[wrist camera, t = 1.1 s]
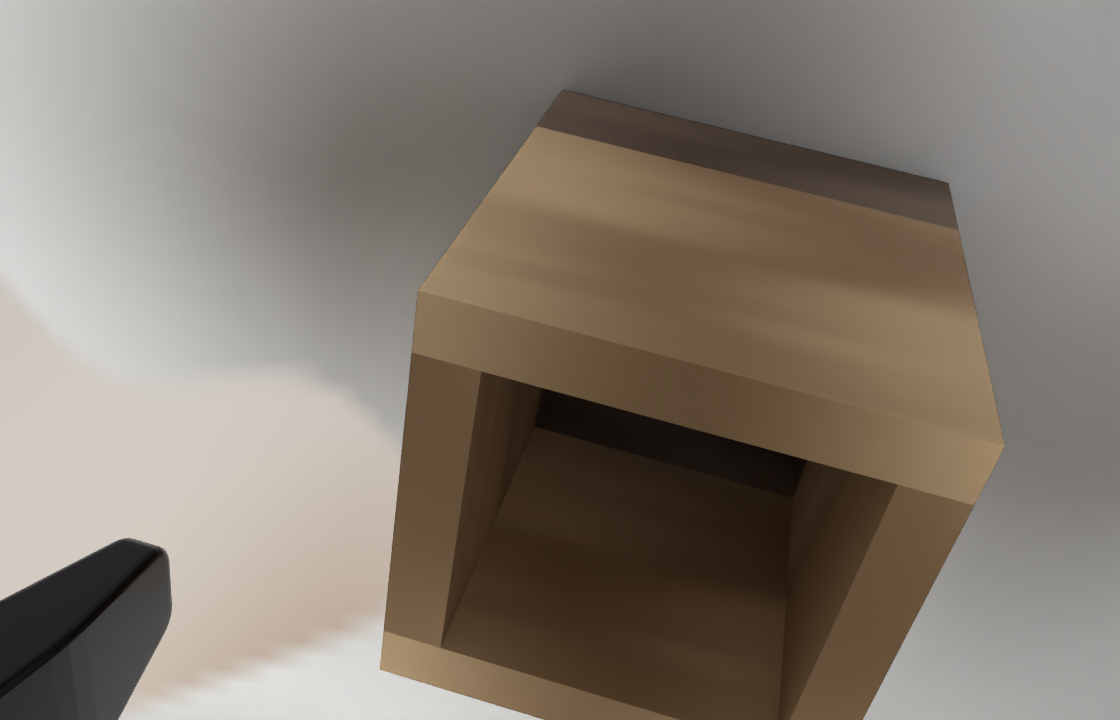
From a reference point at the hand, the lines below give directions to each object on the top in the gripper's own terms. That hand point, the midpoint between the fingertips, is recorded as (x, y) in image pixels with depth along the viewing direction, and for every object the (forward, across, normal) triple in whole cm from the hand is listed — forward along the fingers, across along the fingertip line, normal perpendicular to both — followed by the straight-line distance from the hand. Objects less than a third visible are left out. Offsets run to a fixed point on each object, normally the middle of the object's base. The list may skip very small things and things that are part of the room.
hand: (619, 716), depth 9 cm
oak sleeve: (+8, 0, 0) cm, 8 cm away
